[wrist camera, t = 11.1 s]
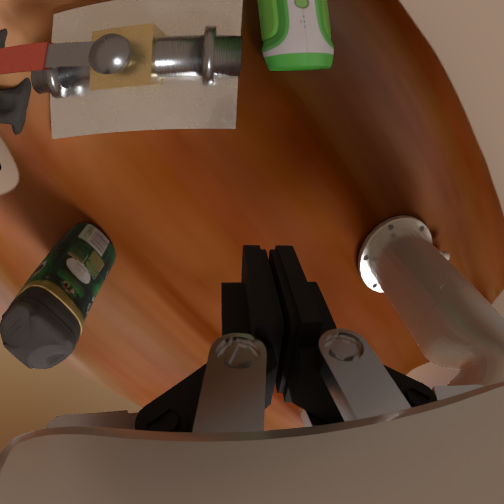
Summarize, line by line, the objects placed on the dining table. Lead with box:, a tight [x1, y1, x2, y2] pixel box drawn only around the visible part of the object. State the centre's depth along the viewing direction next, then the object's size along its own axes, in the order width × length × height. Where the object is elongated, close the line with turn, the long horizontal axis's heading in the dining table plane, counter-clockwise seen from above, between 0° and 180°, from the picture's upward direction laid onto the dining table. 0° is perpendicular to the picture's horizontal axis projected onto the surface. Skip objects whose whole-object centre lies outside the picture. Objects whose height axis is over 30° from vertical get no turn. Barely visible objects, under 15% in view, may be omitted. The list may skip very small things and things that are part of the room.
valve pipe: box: [31, 0, 243, 139], centre depth 26 cm, size 23×16×7 cm
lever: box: [0, 33, 133, 74], centre depth 20 cm, size 14×4×3 cm, turn 78°
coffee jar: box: [0, 223, 116, 369], centre depth 31 cm, size 10×8×19 cm
